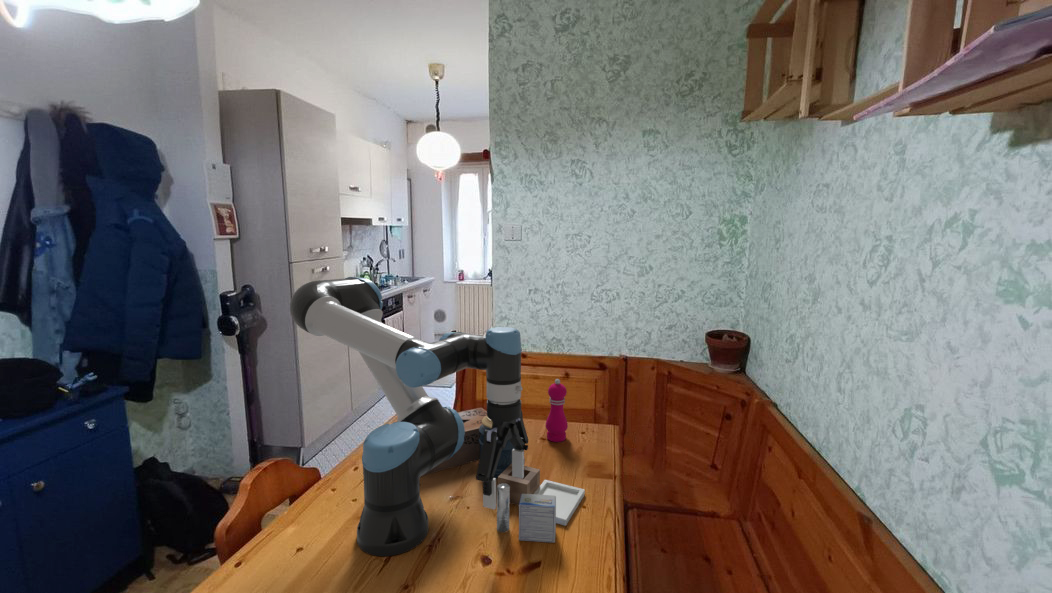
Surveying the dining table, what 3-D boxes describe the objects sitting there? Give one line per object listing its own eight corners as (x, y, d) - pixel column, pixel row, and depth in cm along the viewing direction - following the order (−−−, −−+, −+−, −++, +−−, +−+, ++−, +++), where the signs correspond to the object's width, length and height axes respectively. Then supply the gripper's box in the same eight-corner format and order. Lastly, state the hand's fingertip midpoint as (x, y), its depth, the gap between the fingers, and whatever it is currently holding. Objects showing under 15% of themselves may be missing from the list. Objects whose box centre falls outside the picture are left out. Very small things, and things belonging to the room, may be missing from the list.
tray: (522, 513, 108) (522, 507, 108) (544, 484, 121) (544, 479, 120) (565, 525, 103) (566, 519, 103) (584, 494, 116) (584, 489, 116)
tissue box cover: (481, 436, 150) (481, 407, 149) (502, 454, 138) (502, 422, 137) (404, 455, 137) (403, 423, 135) (420, 476, 124) (419, 442, 123)
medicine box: (555, 531, 102) (556, 494, 101) (554, 544, 97) (555, 506, 96) (520, 528, 102) (521, 492, 101) (518, 541, 98) (518, 504, 97)
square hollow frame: (497, 499, 114) (497, 477, 113) (512, 484, 121) (512, 462, 120) (526, 507, 110) (527, 484, 109) (539, 491, 117) (540, 469, 117)
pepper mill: (571, 436, 150) (572, 378, 148) (560, 444, 144) (562, 384, 141) (552, 431, 154) (553, 374, 151) (541, 439, 148) (542, 380, 145)
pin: (494, 530, 102) (494, 488, 100) (500, 523, 104) (500, 482, 103) (505, 533, 100) (506, 491, 99) (511, 526, 103) (511, 485, 102)
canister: (496, 485, 120) (496, 421, 118) (470, 465, 130) (469, 406, 128) (533, 469, 128) (534, 409, 126) (506, 452, 138) (506, 397, 136)
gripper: (491, 422, 86) (492, 527, 88) (542, 384, 108) (542, 469, 111) (457, 416, 89) (459, 517, 91) (514, 380, 111) (514, 462, 114)
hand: (504, 491), depth 101 cm, fingers open, 13 cm apart
